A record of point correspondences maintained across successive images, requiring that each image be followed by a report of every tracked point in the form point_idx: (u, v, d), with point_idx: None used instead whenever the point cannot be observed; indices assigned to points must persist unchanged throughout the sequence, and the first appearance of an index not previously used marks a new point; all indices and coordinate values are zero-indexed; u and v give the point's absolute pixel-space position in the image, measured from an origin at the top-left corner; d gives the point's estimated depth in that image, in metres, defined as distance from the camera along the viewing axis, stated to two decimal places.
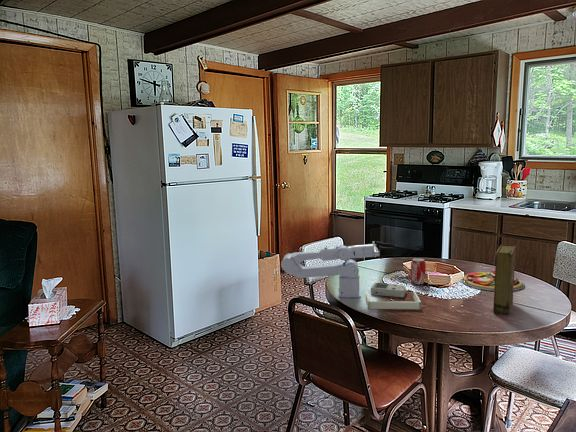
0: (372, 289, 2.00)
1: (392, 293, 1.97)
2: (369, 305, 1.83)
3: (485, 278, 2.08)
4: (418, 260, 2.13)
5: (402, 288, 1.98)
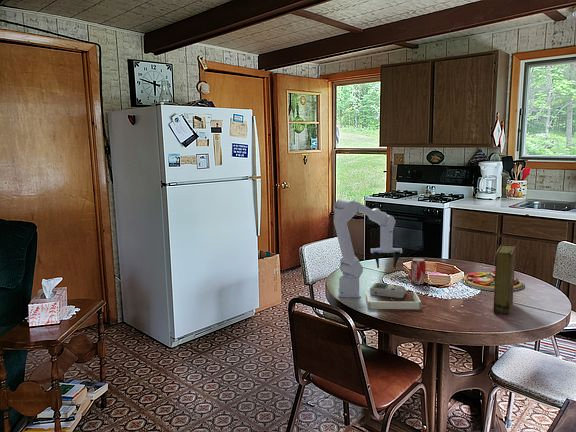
0: (371, 289, 2.00)
1: (391, 294, 1.96)
2: (369, 305, 1.83)
3: (485, 278, 2.08)
4: (418, 260, 2.13)
5: (401, 289, 1.97)
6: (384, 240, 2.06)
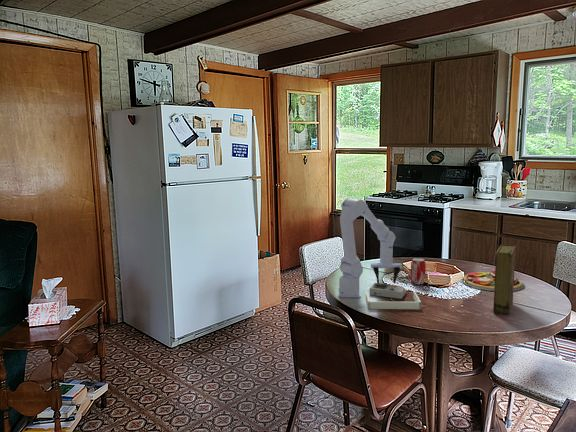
0: (371, 289, 2.00)
1: (390, 294, 1.96)
2: (369, 305, 1.83)
3: (485, 278, 2.08)
4: (418, 260, 2.13)
5: (401, 289, 1.97)
6: (384, 256, 2.07)
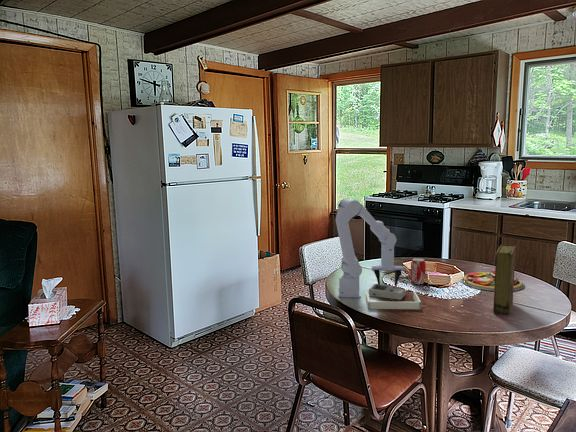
0: (370, 290, 1.98)
1: (390, 295, 1.94)
2: (369, 305, 1.83)
3: (485, 278, 2.08)
4: (418, 260, 2.13)
5: (400, 290, 1.95)
6: (385, 258, 2.02)
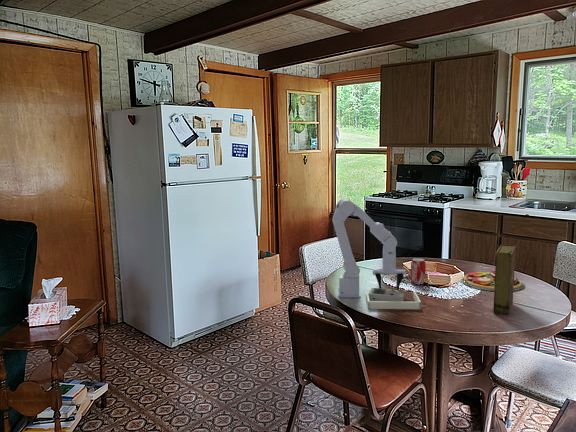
0: (369, 295, 1.93)
1: (390, 299, 1.90)
2: (369, 305, 1.83)
3: (485, 278, 2.08)
4: (418, 260, 2.13)
5: (401, 294, 1.91)
6: (387, 261, 1.96)
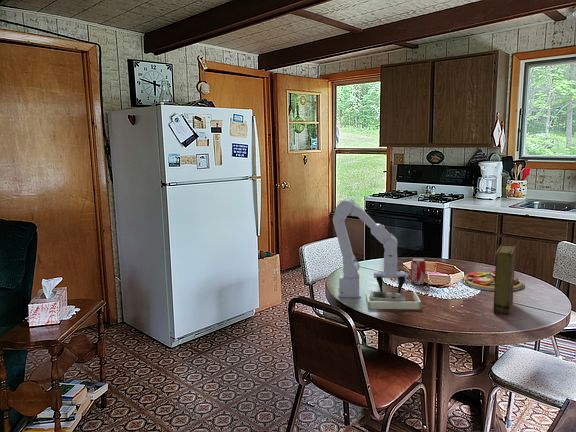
0: (371, 299, 1.88)
1: None
2: (369, 305, 1.83)
3: (485, 278, 2.08)
4: (418, 260, 2.13)
5: (402, 297, 1.87)
6: (388, 264, 1.91)
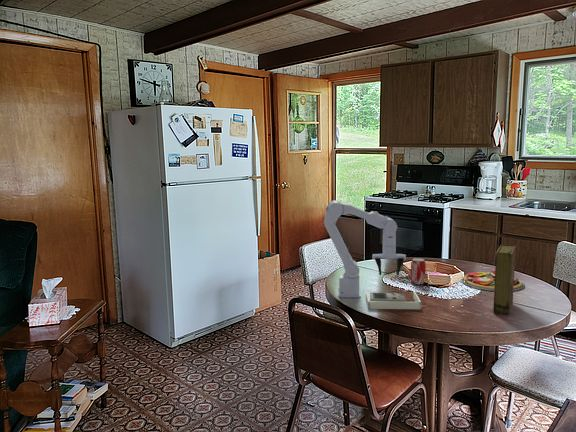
0: (372, 300, 1.86)
1: None
2: (369, 305, 1.83)
3: (485, 278, 2.08)
4: (418, 260, 2.13)
5: (403, 297, 1.87)
6: (387, 246, 1.94)
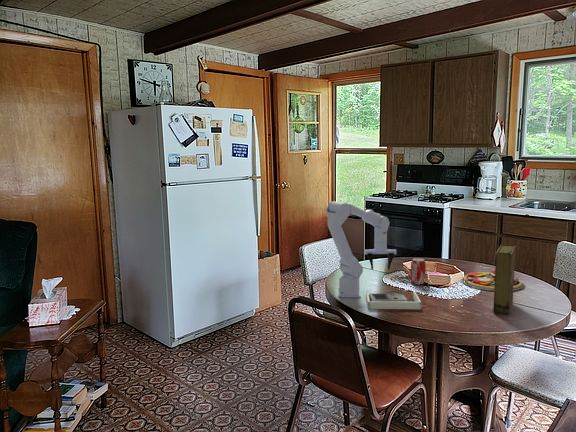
0: None
1: None
2: (369, 305, 1.83)
3: (485, 278, 2.08)
4: (418, 260, 2.13)
5: (403, 297, 1.87)
6: (378, 241, 2.04)
